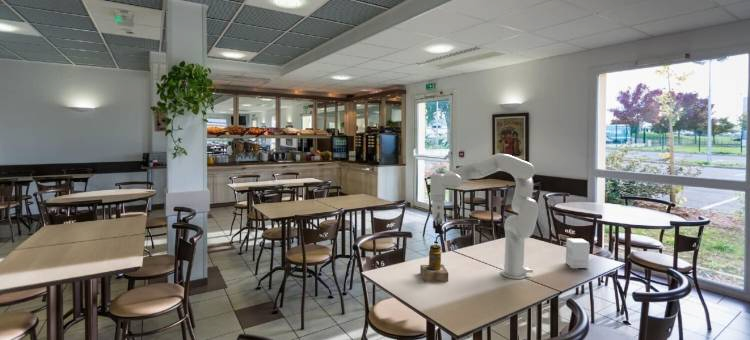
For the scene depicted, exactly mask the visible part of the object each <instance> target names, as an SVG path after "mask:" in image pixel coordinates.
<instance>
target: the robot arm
mask: <svg viewBox="0 0 750 340" xmlns="http://www.w3.org/2000/svg"><path fill="white" fill-rule="evenodd" d="M499 171H500V172H501V171H502V172H505V173H507V174H510V175H511V176H512V177H513V178H514V181H515V189H514V194H513V198H512V201H511V209H512V211H513V212H514V213H516V214H518V215H515V214H513V215H512V214H511V215H509V216H508V217H506V219H505V221H504V225H503V226H504V227H503V228H504V235H505V236H504V237H505V242H504V243H505V244H504V261H503V262H504V265H503V266H504V267H503V269H501V271H500V274H501V275H502V276H503V277H505V278H508V279H512V280H513V279H514V280H523V279H526V277H527V274H528V273H530V274H532V273H534V270H533V268H529V267H525V266H524V264H525V262H524V261H525V239H529V238H530V237H531V236H532V235H533V234H534V232H535V228H536V225H537V219H538V217H539V211H540V210H539V204H538V202H537V201H536V200H535V199H533V198H532V197H533V191H534V180H533V177H534V176H535V173H536V168H535V166H534V165H533V164H532V163H530V162H528V161H526V160H522V159H521V158H518V157H515V156H512V155H511V154H507V153H496V154H493V155H490V156H488V157H485V158H483V159H480V160H477V161H475V162H471V163H469V164H465V165H462V166H459V167H456V168H454V169H452V170H449V171H447V172H445V173H440V172H439V173H436V172H435V173H432V174H430V187H429V188H430V189H429V190H430V192H429V193H430V194H429V195H430V197H429V201H430V202H432V203H431V207H432V209H431V210H432V211H431V212H432V214H431V216H432V219H433V221H432V229H433V230H434V234H442V222H444V221H445V220H444V219H445V217H444V216H445V215H444V202H446V189H447V188H448V189H453V190H454V189H459V188H460V187H461V186H462V184H463V181H467V180H472V179H473V180H474V179H476V180H477V179H482V178H484V177H488V176H489V175H492V174H495V173H497V172H499Z"/></svg>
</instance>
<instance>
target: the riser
mask: <svg viewBox="0 0 750 340" xmlns="http://www.w3.org/2000/svg"><path fill="white" fill-rule="evenodd" d="M425 267H429V264H420V268H419V269H420V272H419V273H420V276H421V278H422V279H423V282H425V283H437V282H438V283H441V282H443V283H444V282H446V283H447V282H449V272H448V270H447V269H446V267H445V266H444V264H441V268H443V270H440V271H436V272H430V271H428V270H425V269H423V268H425Z"/></svg>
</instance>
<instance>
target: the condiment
mask: <svg viewBox="0 0 750 340" xmlns="http://www.w3.org/2000/svg"><path fill="white" fill-rule="evenodd" d="M428 252H429V253H428V255H429V256H428V265H429V267H425V268H423V269H425V270H428V271H430V272H436V271H440V270H443V268H441V265H442V251H441V245H438V244H431V245H430V246H429V251H428Z"/></svg>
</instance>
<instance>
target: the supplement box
mask: <svg viewBox="0 0 750 340" xmlns="http://www.w3.org/2000/svg"><path fill="white" fill-rule="evenodd" d="M565 243H566V245H565V264H566V263H567V264H568V265H569V266H568V265H567V264H566V265H567V266H568V267H569V268H571V269H578V268H588V269H589V260H590V259H589V258H590V257H589V255H590V242H589V241H587V240H585V239H584V238H566V242H565Z"/></svg>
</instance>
